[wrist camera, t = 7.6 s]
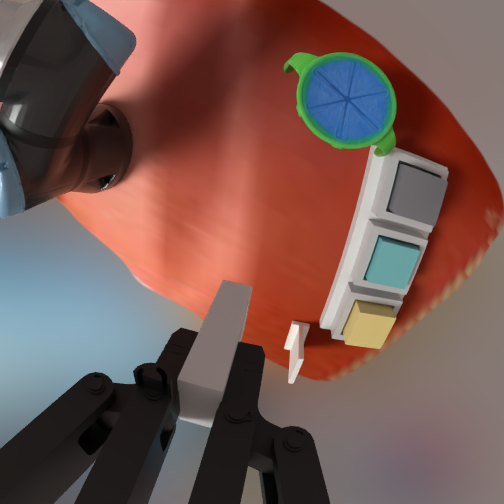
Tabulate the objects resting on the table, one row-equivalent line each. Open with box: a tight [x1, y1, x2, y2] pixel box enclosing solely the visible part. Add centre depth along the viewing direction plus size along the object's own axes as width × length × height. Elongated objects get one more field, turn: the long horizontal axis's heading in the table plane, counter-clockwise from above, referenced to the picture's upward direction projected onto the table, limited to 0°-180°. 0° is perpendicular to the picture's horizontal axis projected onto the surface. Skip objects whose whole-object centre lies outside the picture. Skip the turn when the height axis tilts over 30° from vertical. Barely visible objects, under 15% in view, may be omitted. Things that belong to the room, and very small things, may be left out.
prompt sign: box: [284, 321, 310, 384], centre depth 43 cm, size 3×6×9 cm, turn 171°
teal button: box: [365, 235, 420, 289], centre depth 35 cm, size 6×6×4 cm
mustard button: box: [342, 299, 396, 349], centre depth 38 cm, size 6×6×4 cm
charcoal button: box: [387, 163, 448, 227], centre depth 29 cm, size 6×6×4 cm
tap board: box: [320, 145, 449, 340], centre depth 36 cm, size 12×30×5 cm, turn 171°
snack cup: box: [284, 52, 397, 157], centre depth 27 cm, size 16×10×10 cm
